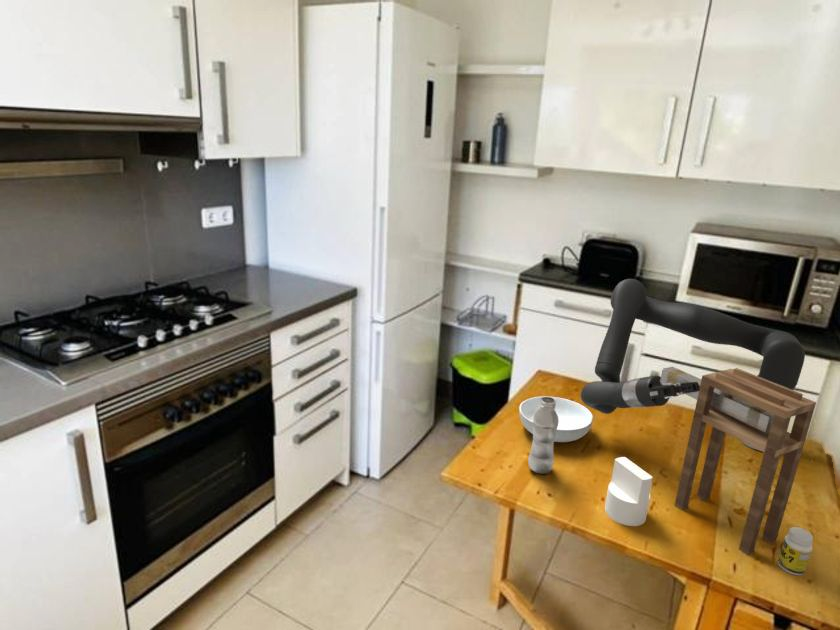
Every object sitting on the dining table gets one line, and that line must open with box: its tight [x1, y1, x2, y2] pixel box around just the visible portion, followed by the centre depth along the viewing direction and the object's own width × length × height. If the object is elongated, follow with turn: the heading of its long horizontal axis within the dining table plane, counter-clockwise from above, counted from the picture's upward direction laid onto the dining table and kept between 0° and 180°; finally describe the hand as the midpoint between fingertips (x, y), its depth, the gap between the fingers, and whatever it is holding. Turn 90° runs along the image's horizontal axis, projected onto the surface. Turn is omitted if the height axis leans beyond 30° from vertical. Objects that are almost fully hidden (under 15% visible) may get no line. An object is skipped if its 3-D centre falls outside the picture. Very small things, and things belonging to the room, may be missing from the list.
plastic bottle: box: [527, 396, 559, 475], centre depth 139 cm, size 6×7×20 cm
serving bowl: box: [518, 395, 594, 443], centre depth 160 cm, size 21×21×7 cm
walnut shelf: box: [674, 367, 817, 556], centre depth 119 cm, size 10×18×35 cm, turn 28°
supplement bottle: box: [777, 526, 814, 576], centre depth 111 cm, size 5×5×8 cm
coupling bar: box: [660, 366, 774, 432], centre depth 123 cm, size 4×26×4 cm, turn 27°
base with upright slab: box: [604, 456, 654, 527], centre depth 125 cm, size 9×9×12 cm
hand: (703, 385), depth 125 cm, fingers closed on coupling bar, 3 cm apart
